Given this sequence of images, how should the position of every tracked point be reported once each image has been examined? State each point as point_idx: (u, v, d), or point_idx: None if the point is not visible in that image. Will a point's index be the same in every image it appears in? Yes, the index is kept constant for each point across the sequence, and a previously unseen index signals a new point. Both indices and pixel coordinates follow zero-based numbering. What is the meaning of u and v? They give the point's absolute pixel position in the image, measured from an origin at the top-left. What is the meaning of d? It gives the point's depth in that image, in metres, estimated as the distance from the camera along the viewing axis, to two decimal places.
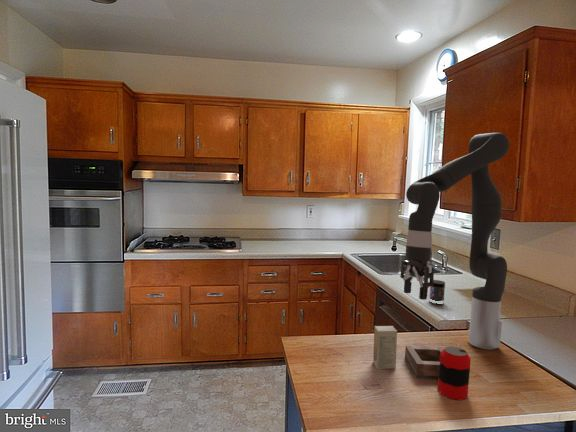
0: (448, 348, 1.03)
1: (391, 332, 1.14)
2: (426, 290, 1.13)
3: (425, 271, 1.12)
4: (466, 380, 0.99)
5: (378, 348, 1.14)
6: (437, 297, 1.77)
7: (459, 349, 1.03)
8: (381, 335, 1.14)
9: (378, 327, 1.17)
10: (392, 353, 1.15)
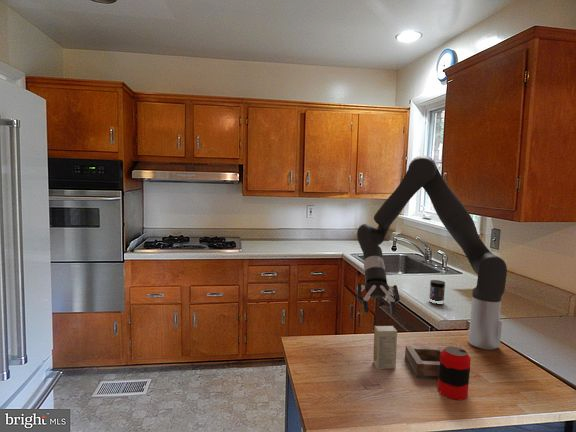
0: (448, 348, 1.03)
1: (391, 332, 1.14)
2: (363, 304, 1.26)
3: None
4: (466, 380, 0.99)
5: (378, 348, 1.14)
6: (437, 297, 1.77)
7: (459, 349, 1.03)
8: (381, 335, 1.14)
9: (378, 327, 1.17)
10: (392, 353, 1.15)
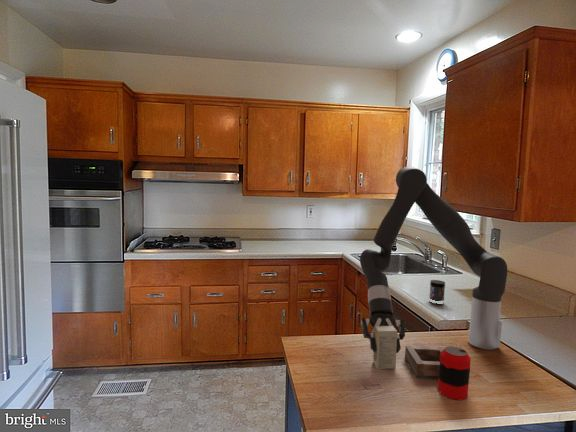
0: (448, 348, 1.03)
1: (391, 332, 1.14)
2: (370, 341, 1.17)
3: None
4: (466, 380, 0.99)
5: (378, 348, 1.14)
6: (437, 297, 1.77)
7: (459, 349, 1.03)
8: (381, 335, 1.14)
9: (378, 327, 1.17)
10: (392, 353, 1.15)
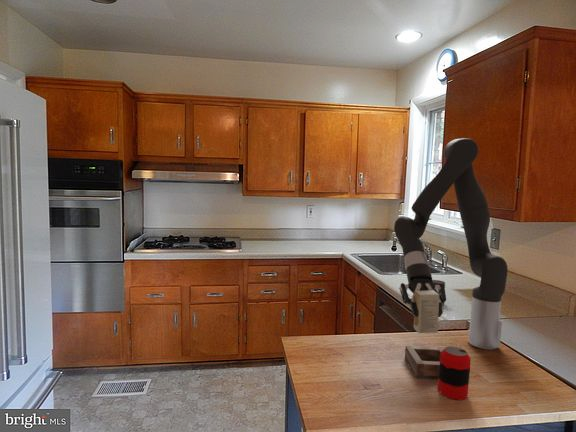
0: (448, 348, 1.03)
1: (433, 295, 1.12)
2: (411, 306, 1.14)
3: None
4: (466, 380, 0.99)
5: (420, 312, 1.12)
6: None
7: (459, 349, 1.03)
8: (423, 298, 1.12)
9: (419, 291, 1.14)
10: (435, 317, 1.12)
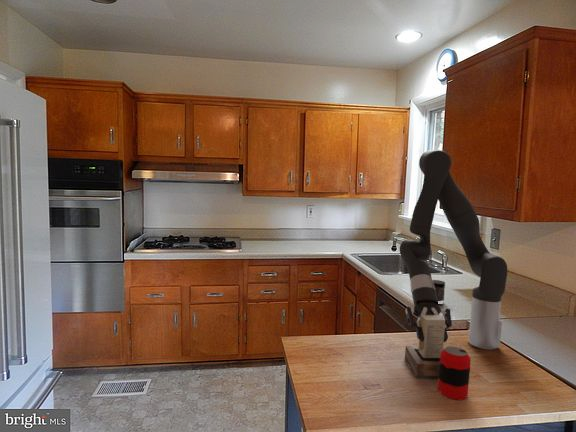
0: (448, 348, 1.03)
1: (439, 321, 1.12)
2: (417, 330, 1.15)
3: None
4: (466, 380, 0.99)
5: (426, 337, 1.13)
6: (437, 297, 1.77)
7: (459, 349, 1.03)
8: (429, 323, 1.12)
9: (425, 316, 1.15)
10: (440, 342, 1.13)
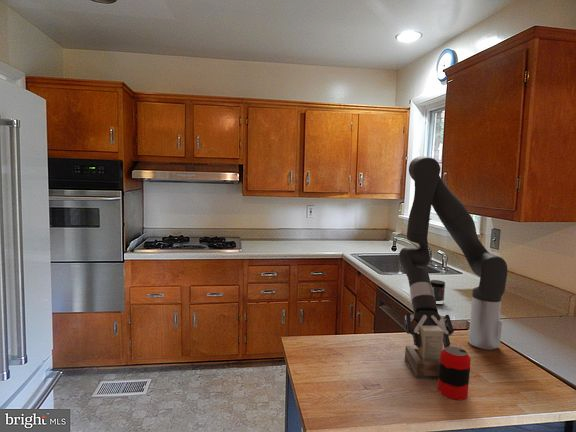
0: (448, 348, 1.03)
1: (437, 332, 1.13)
2: (414, 336, 1.15)
3: None
4: (466, 380, 0.99)
5: (424, 348, 1.13)
6: (437, 297, 1.77)
7: (459, 349, 1.03)
8: (427, 334, 1.13)
9: (423, 327, 1.15)
10: (438, 353, 1.13)
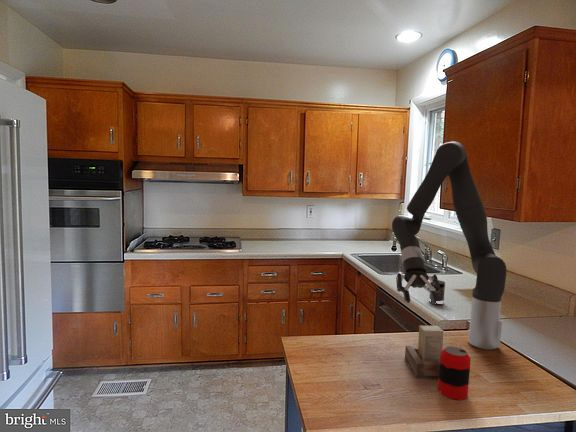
0: (448, 348, 1.03)
1: (437, 332, 1.13)
2: (404, 293, 1.27)
3: None
4: (466, 380, 0.99)
5: (424, 348, 1.13)
6: (437, 297, 1.77)
7: (459, 349, 1.03)
8: (427, 334, 1.13)
9: (423, 327, 1.15)
10: (438, 353, 1.13)
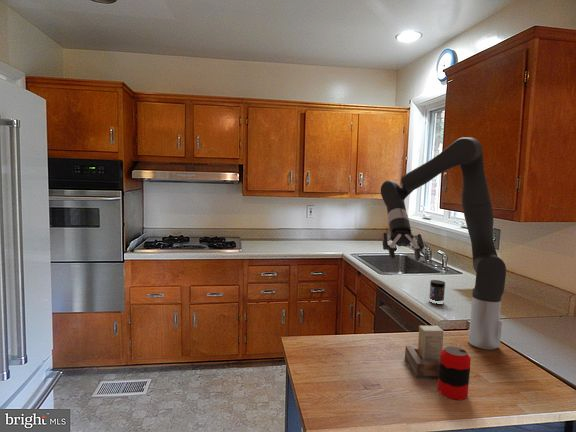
0: (448, 348, 1.03)
1: (437, 332, 1.13)
2: (389, 250, 1.33)
3: None
4: (466, 380, 0.99)
5: (424, 348, 1.13)
6: (437, 297, 1.77)
7: (459, 349, 1.03)
8: (427, 334, 1.13)
9: (423, 327, 1.15)
10: (438, 353, 1.13)
